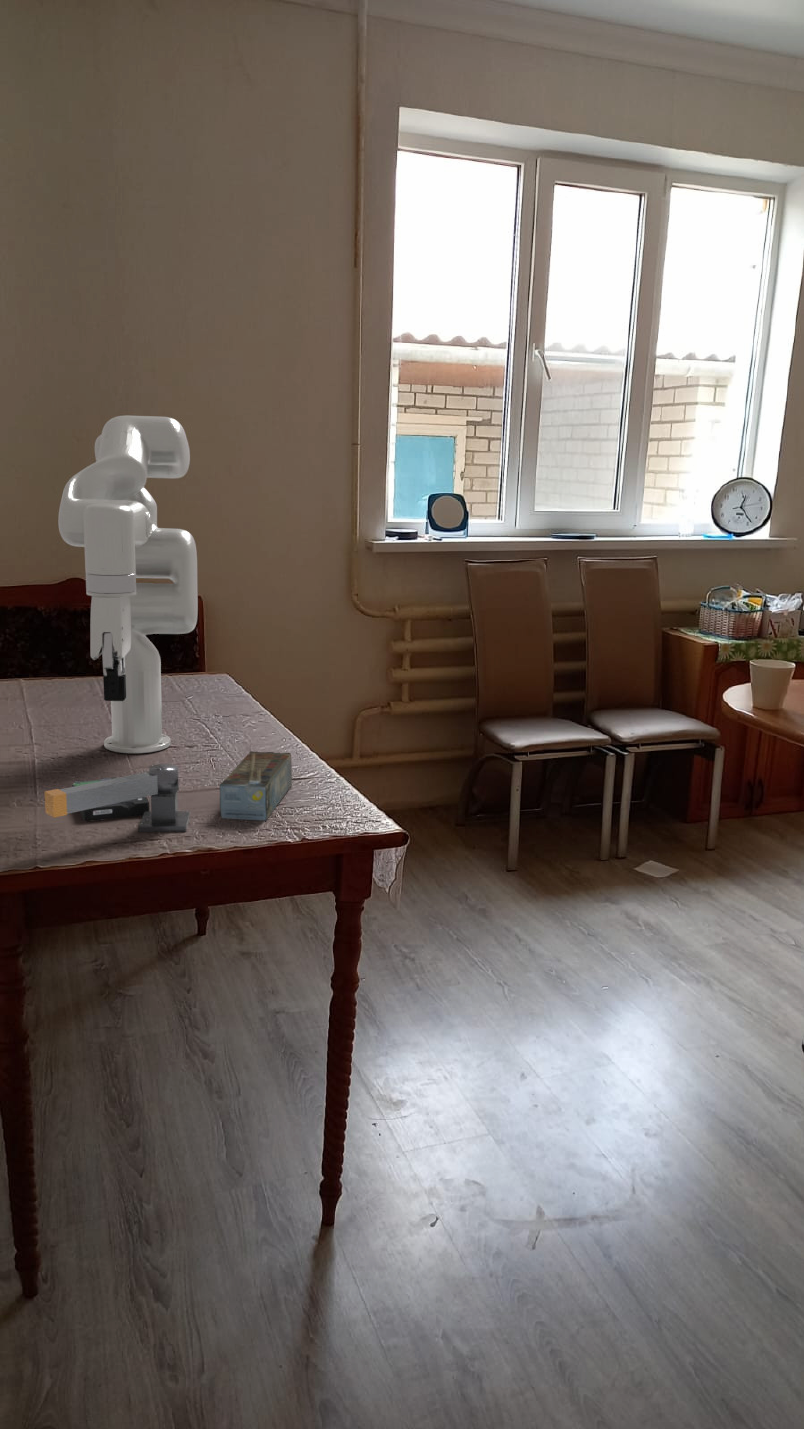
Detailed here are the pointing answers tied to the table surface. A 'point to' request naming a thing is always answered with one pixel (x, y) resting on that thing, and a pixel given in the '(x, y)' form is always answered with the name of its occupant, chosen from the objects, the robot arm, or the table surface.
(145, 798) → the disk drive
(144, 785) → the swing bar
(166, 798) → the grey pedestal base
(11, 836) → the table surface
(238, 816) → the beverage carton
